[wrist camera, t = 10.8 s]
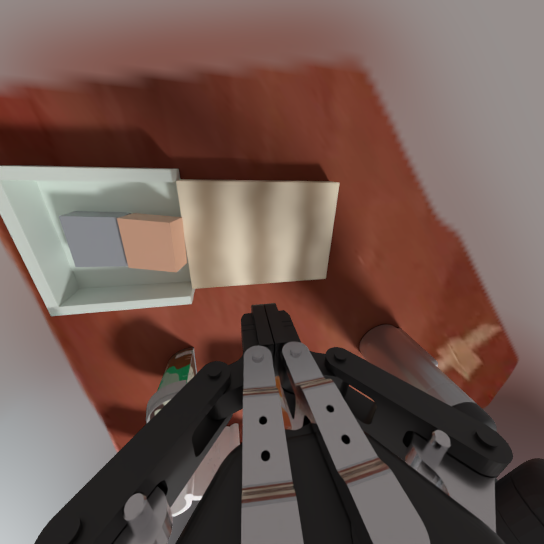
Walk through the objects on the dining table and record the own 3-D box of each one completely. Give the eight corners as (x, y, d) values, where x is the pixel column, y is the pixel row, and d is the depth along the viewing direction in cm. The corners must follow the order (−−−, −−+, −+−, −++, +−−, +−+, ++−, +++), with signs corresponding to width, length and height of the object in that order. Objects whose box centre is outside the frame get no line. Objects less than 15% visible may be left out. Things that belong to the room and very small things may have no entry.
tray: (178, 168, 27) (170, 169, 23) (195, 285, 34) (191, 303, 30) (21, 165, 24) (-24, 165, 20) (75, 294, 31) (51, 316, 27)
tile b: (130, 212, 28) (121, 217, 25) (139, 257, 30) (131, 266, 28) (74, 210, 26) (58, 216, 24) (89, 257, 29) (75, 267, 26)
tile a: (182, 217, 27) (169, 222, 24) (187, 262, 29) (176, 272, 27) (134, 212, 27) (116, 218, 24) (143, 258, 30) (128, 267, 27)
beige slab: (329, 181, 31) (339, 182, 29) (318, 270, 37) (325, 278, 35) (180, 179, 28) (175, 180, 25) (194, 279, 34) (192, 288, 31)
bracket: (148, 443, 48) (127, 523, 37) (161, 414, 45) (143, 492, 34) (252, 449, 57) (259, 515, 46) (269, 426, 54) (281, 490, 43)
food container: (154, 344, 37) (133, 399, 29) (192, 340, 39) (184, 392, 30) (165, 393, 43) (150, 453, 34) (199, 388, 44) (193, 445, 35)
